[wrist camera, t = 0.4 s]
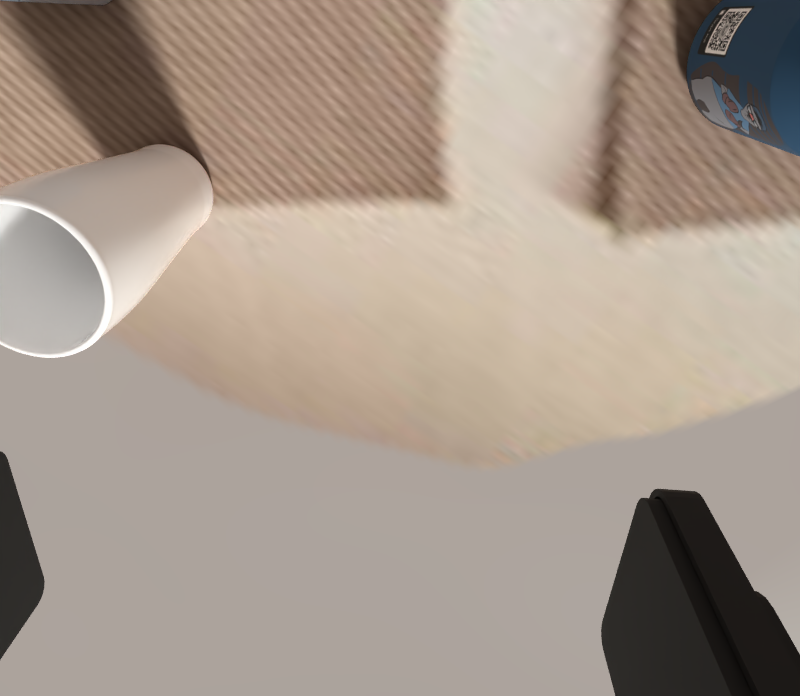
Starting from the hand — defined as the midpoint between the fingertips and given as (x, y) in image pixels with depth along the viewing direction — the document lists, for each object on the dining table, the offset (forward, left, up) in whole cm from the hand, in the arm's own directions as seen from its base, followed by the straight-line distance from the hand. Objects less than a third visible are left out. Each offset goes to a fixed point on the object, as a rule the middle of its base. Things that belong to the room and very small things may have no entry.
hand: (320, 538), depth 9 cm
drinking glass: (+3, -14, -30) cm, 33 cm away
